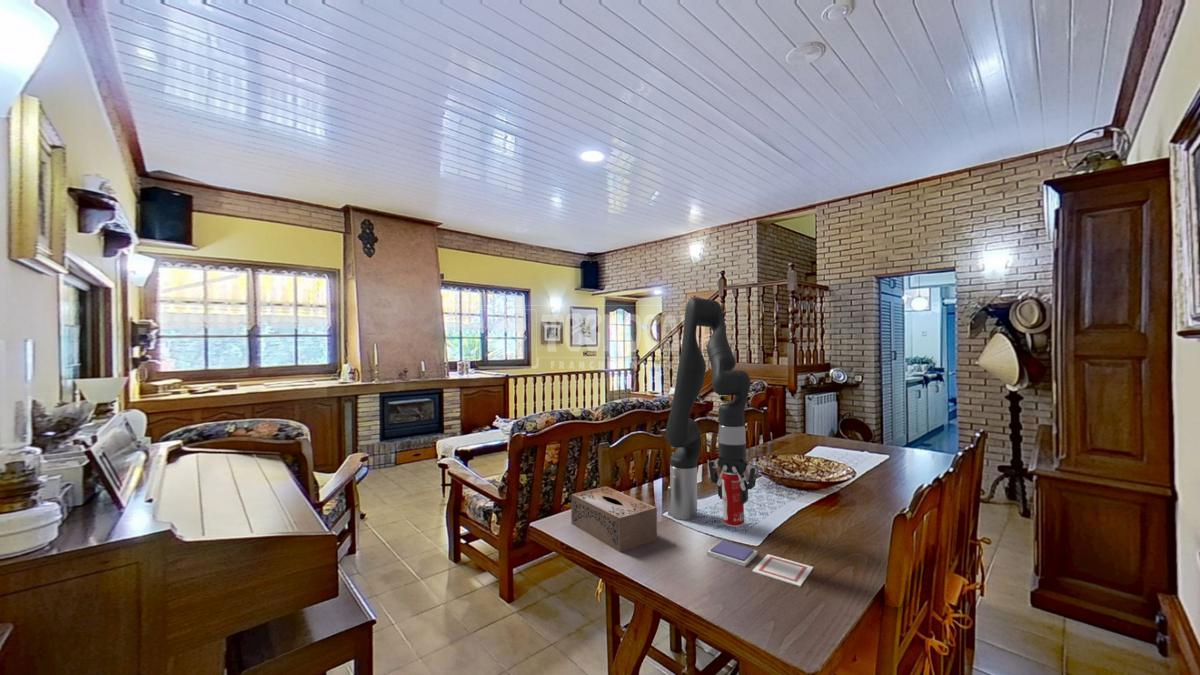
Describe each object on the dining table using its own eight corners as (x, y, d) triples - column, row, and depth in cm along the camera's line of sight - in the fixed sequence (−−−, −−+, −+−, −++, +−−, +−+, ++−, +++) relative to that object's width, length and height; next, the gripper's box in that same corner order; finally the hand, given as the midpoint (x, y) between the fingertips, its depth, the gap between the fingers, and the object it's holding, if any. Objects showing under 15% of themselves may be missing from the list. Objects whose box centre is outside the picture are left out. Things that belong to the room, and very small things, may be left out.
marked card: (752, 571, 122) (752, 570, 122) (767, 555, 131) (767, 553, 131) (800, 586, 114) (800, 585, 114) (813, 568, 123) (813, 566, 123)
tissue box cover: (571, 524, 154) (571, 494, 154) (606, 514, 162) (606, 486, 162) (619, 553, 133) (619, 518, 133) (656, 540, 142) (656, 507, 142)
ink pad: (707, 555, 131) (707, 549, 131) (720, 543, 138) (720, 538, 138) (745, 566, 124) (745, 561, 124) (757, 554, 131) (757, 549, 131)
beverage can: (744, 520, 134) (743, 468, 134) (743, 529, 127) (742, 474, 127) (723, 518, 135) (722, 466, 136) (721, 526, 129) (720, 472, 129)
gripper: (761, 441, 130) (762, 502, 130) (713, 435, 139) (714, 492, 139) (752, 446, 124) (753, 509, 124) (702, 440, 133) (703, 499, 133)
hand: (732, 500), depth 131 cm, fingers closed on beverage can, 5 cm apart
